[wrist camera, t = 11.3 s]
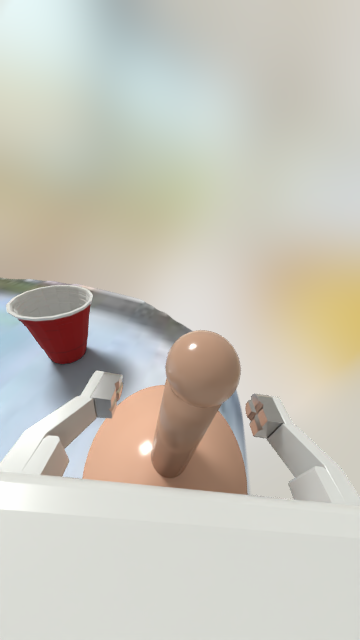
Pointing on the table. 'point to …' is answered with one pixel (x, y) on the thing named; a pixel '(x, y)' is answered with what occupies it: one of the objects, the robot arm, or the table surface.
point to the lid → (176, 425)
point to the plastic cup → (56, 319)
